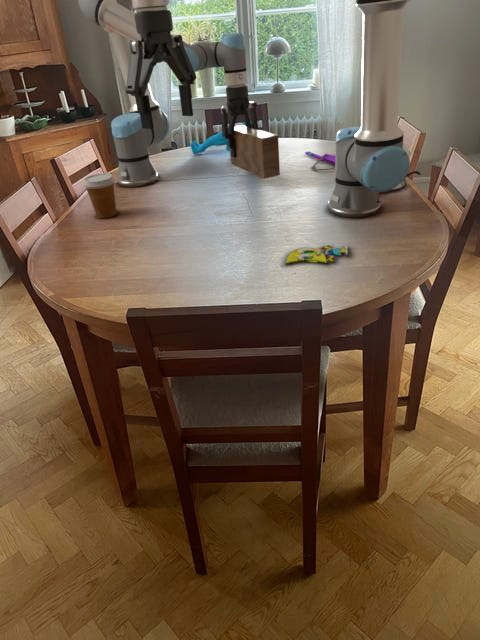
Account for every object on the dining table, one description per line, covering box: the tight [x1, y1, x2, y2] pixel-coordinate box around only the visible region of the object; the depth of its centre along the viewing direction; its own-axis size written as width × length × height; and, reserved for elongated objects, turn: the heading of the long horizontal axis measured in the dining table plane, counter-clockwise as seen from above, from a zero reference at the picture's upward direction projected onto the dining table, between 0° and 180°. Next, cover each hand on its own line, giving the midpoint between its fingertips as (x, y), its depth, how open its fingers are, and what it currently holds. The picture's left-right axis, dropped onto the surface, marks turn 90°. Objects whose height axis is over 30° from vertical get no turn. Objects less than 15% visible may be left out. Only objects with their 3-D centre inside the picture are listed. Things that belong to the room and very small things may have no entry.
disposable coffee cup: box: [83, 172, 117, 219], centre depth 152 cm, size 10×10×12 cm
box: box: [229, 124, 281, 180], centre depth 168 cm, size 25×6×13 cm, turn 27°
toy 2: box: [285, 244, 349, 266], centre depth 118 cm, size 10×1×15 cm
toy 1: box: [189, 120, 252, 155], centre depth 209 cm, size 17×11×30 cm
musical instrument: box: [304, 151, 336, 171], centre depth 185 cm, size 24×2×20 cm
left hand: (242, 154), depth 176 cm, fingers closed on box, 6 cm apart
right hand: (168, 121), depth 108 cm, fingers open, 13 cm apart
